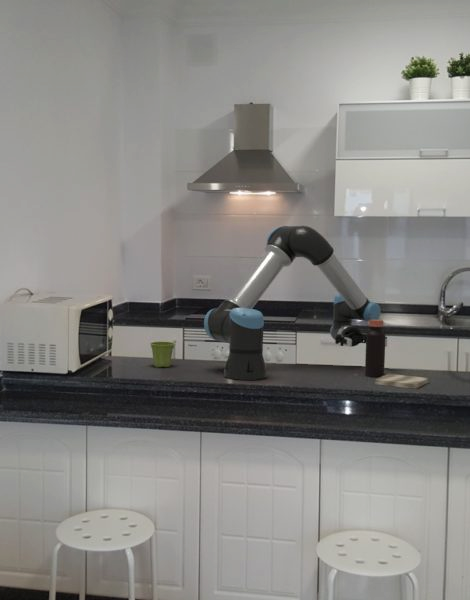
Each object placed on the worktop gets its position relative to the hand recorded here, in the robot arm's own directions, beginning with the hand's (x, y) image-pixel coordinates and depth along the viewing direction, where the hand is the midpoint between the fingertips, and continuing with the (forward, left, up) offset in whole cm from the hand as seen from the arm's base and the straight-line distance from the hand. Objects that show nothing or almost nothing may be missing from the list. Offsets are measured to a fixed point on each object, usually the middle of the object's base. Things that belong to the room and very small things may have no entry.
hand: (368, 343), depth 259 cm
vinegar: (+4, -5, -11) cm, 13 cm away
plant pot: (-68, -34, -11) cm, 77 cm away
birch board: (+17, -13, -11) cm, 24 cm away
